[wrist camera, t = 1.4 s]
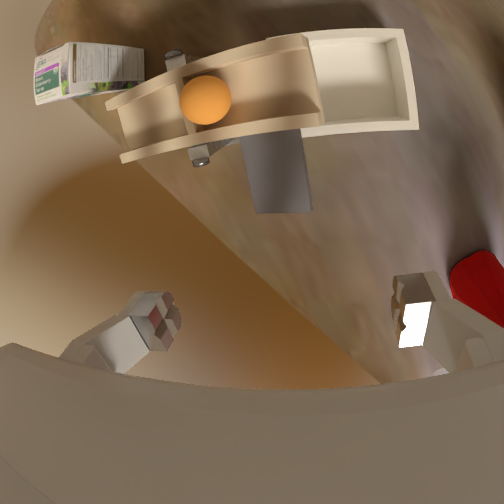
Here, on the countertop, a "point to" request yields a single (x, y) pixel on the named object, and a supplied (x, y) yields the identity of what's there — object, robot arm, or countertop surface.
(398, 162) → the countertop surface
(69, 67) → the syrup box
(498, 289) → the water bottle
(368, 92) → the white open tray
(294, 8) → the countertop surface
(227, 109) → the ball
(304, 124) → the lever
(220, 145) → the pivot stand
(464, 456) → the robot arm
